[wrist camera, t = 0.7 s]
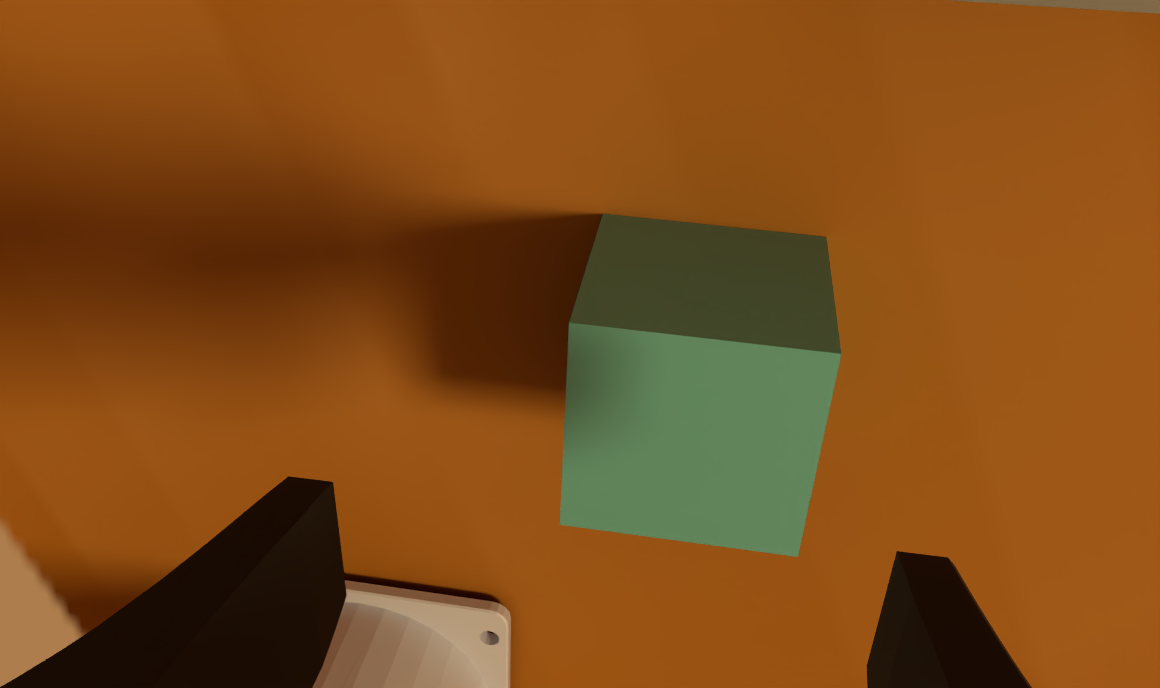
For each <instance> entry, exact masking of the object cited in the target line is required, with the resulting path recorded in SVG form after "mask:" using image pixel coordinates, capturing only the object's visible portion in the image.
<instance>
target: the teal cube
mask: <svg viewBox="0 0 1160 688" xmlns="http://www.w3.org/2000/svg"><path fill="white" fill-rule="evenodd" d="M840 357H841V349H840V341H839V333H838V325H837V317H836V309H835V301H834V294H833V286H832V278H831V270H830V262H829V254H828V246H827V239H826V237H822V236H813V235H803V234H793V233H784V232H774V231H765V230H755V229H745V228H736V227H726V226H716V225H707V224H697V223H688V222H678V221H668V220H659V219H649V218H640V217H630V216H620V215H611V214H603V215H602V218H601V221H600V224H599V228H598V231H597V234H596V237H595V241H594V244H593V247H592V250H591V253H590V257H589V260H588V263H587V266H586V270H585V273H584V276H583V279H582V282H581V286H580V289H579V292H578V295H577V299H576V302H575V305H574V308H573V311H572V315H571V318H570V321H569V333H568V356H567V378H566V400H565V422H564V445H563V467H562V489H561V511H560V525H566V526H574V527H581V528H589V529H596V530H603V531H611V532H618V533H626V534H633V535H640V536H648V537H655V538H663V539H670V540H677V541H685V542H692V543H699V544H707V545H714V546H722V547H729V548H736V549H744V550H751V551H759V552H766V553H773V554H781V555H788V556H796V557H798V554H799V549H800V544H801V539H802V535H803V530H804V525H805V521H806V516H807V511H808V507H809V502H810V497H811V493H812V488H813V483H814V479H815V474H816V469H817V465H818V460H819V455H820V451H821V446H822V441H823V437H824V432H825V427H826V423H827V418H828V413H829V409H830V404H831V399H832V395H833V390H834V385H835V381H836V376H837V371H838V366H839V362H840Z"/></svg>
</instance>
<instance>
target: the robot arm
mask: <svg viewBox="0 0 1160 688" xmlns="http://www.w3.org/2000/svg"><path fill="white" fill-rule="evenodd" d="M487 631H491V632H494V633H495V634H492V633H489V632H487ZM510 649H511V616H510V612H509V611H508V610H507V609H506V607H504V606H503V605H501V604H499V603H496V602H493V601H486V600H479V599H472V598H465V597H458V596H451V595H444V594H437V593H430V592H423V591H417V590H410V589H403V588H396V587H389V586H382V585H375V584H368V583H361V582H354V581H348V580H345V577H344V569H343V561H342V553H341V544H340V536H339V528H338V520H337V512H336V503H335V495H334V487H333V482H329V481H321V480H313V479H304V478H296V477H287V478H286V479H285V480H283V481H282V482H281V483H280V484H278V485H277V486H276V487H275V488H273V489H272V490H271V491H270V492H268V493H267V494H266V495H265V496H263V497H262V498H261V499H260V500H259V501H257V502H256V503H255V504H254V505H253V506H251V507H250V508H249V509H248V510H247V511H245V512H244V513H243V514H242V515H241V516H239V517H238V518H237V519H236V520H235V521H233V522H232V523H231V524H230V525H229V526H227V527H226V528H225V529H224V530H222V531H221V532H220V533H219V534H218V535H216V536H215V537H214V538H213V539H212V540H210V541H209V542H208V543H207V544H205V545H204V546H203V547H202V548H200V549H199V550H198V551H197V552H195V553H194V554H193V555H192V556H190V557H189V558H188V559H187V560H185V561H184V562H183V563H181V564H180V565H179V566H178V567H176V568H175V569H174V570H173V571H171V572H170V573H169V574H168V575H166V576H165V577H164V578H163V579H161V580H160V581H159V582H157V583H156V584H155V585H153V586H152V587H151V588H149V589H148V590H147V591H145V592H144V593H143V594H141V595H140V596H139V597H137V598H136V599H134V600H133V601H132V602H130V603H129V604H128V605H126V606H125V607H123V608H122V609H121V610H119V611H118V612H117V613H115V614H114V615H112V616H111V617H110V618H108V619H107V620H106V621H104V622H103V623H101V624H100V625H99V626H97V627H96V628H94V629H93V630H91V631H90V632H88V633H87V634H85V635H84V636H82V637H81V638H79V639H78V640H76V641H75V642H73V643H72V644H70V645H69V646H67V647H66V648H64V649H62V650H61V651H59V652H58V653H56V654H54V655H53V656H51V657H50V658H48V659H46V660H45V661H44V662H41V663H40V664H38V665H37V666H35V667H33V668H32V669H30V670H28V671H27V672H25V673H24V674H22V675H20V676H19V677H17V678H15V679H13V680H12V681H10V682H8V683H7V684H5V685H3V686H1V687H0V688H510ZM867 684H868V688H1032V687H1031V686H1030V684H1029V683H1028V681H1027V680H1026V679H1025V677H1024V676H1023V674H1022V673H1021V671H1020V670H1019V668H1018V667H1017V665H1016V664H1015V662H1014V661H1013V659H1012V658H1011V656H1010V655H1009V653H1008V652H1007V650H1006V649H1005V647H1004V646H1003V644H1002V642H1001V641H1000V639H999V638H998V636H997V635H996V633H995V631H994V630H993V628H992V627H991V625H990V623H989V622H988V620H987V619H986V617H985V615H984V614H983V612H982V611H981V609H980V607H979V606H978V604H977V602H976V601H975V599H974V597H973V596H972V594H971V592H970V591H969V589H968V587H967V586H966V584H965V582H964V581H963V579H962V577H961V576H960V574H959V572H958V570H957V569H956V567H955V566H954V564H953V563H952V562H951V561H950V559H949V558H947V557H939V556H931V555H923V554H915V553H907V552H898V551H897V553H896V557H895V561H894V564H893V568H892V572H891V576H890V580H889V583H888V587H887V591H886V595H885V599H884V602H883V606H882V610H881V614H880V618H879V622H878V625H877V629H876V633H875V637H874V641H873V644H872V648H871V652H870V656H869V660H868V663H867Z"/></svg>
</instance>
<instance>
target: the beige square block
mask: <svg viewBox="0 0 1160 688" xmlns="http://www.w3.org/2000/svg"><path fill="white" fill-rule="evenodd" d="M954 1H970V2H986V3H1001V4H1017V5H1033V6H1048V7H1064V8H1080V9H1096V10H1111V11H1127V12H1143V13H1158V14H1160V0H954Z"/></svg>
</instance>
